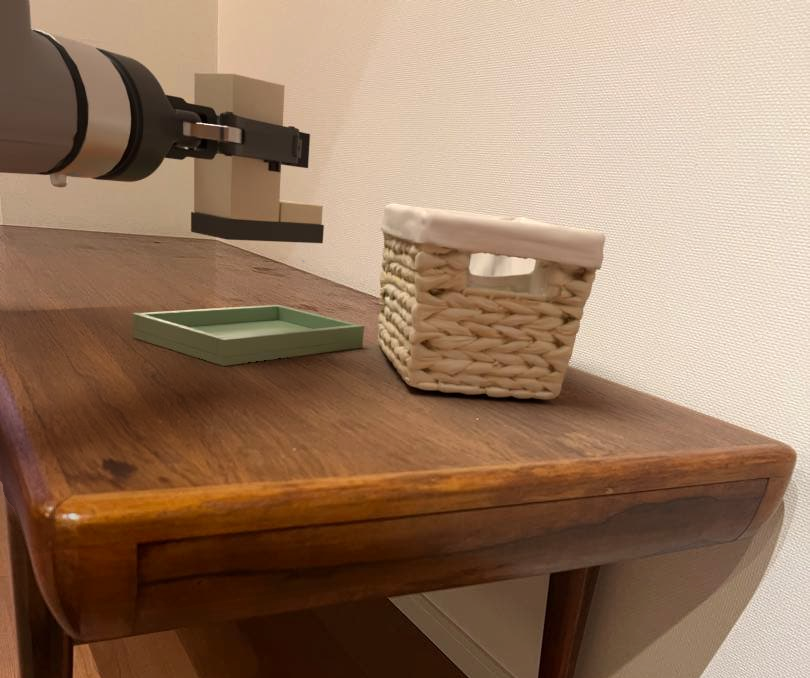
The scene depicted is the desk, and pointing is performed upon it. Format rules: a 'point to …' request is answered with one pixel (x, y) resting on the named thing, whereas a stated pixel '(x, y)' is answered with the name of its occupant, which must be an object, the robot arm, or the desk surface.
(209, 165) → the boot
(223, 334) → the tray
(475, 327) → the basket
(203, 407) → the desk surface
